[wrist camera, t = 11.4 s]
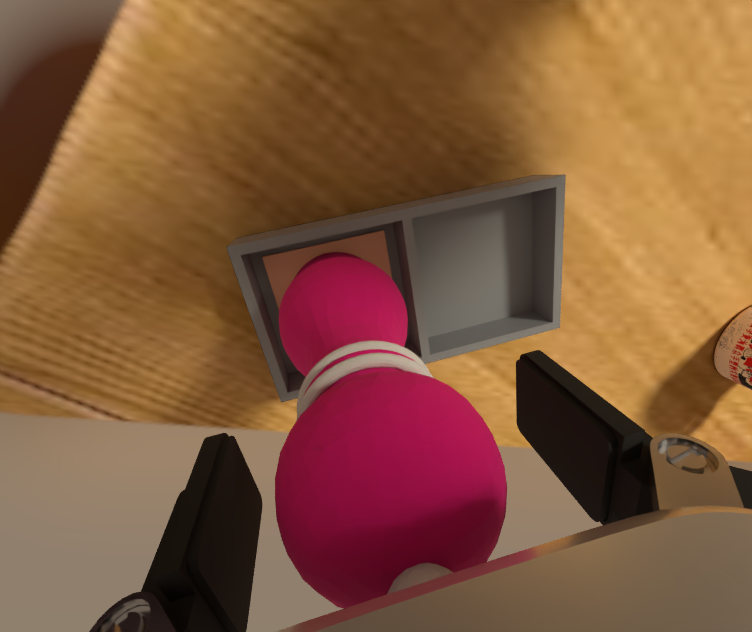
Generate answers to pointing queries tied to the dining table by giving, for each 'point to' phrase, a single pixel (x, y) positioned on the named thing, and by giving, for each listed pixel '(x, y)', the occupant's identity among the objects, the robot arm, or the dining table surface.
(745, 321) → the teacup with lid
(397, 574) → the pepper mill
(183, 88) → the dining table surface
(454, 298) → the tray
